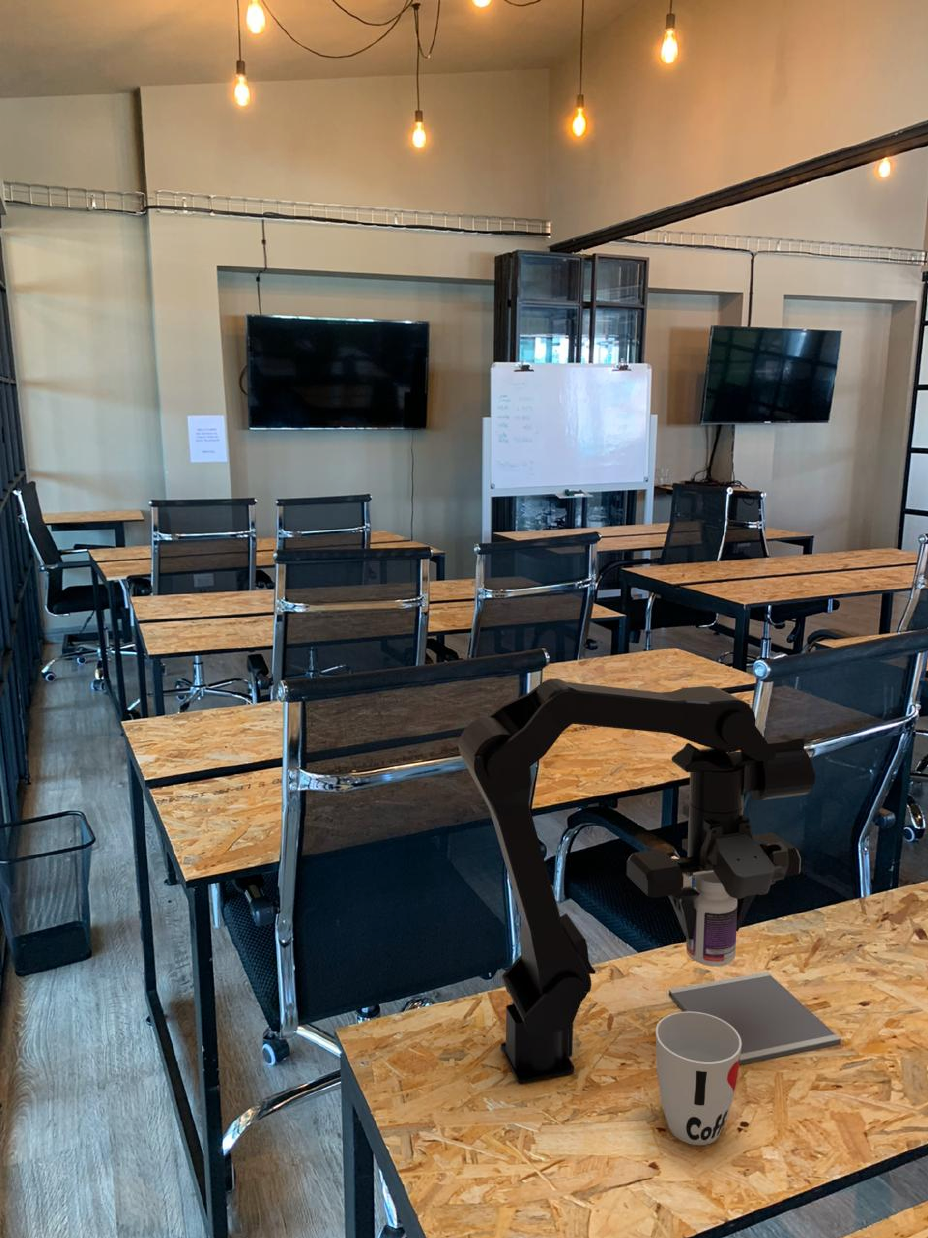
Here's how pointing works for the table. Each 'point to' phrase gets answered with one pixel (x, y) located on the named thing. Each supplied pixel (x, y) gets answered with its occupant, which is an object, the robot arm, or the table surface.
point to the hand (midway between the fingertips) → (711, 934)
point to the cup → (696, 1074)
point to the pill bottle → (713, 923)
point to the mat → (758, 1015)
